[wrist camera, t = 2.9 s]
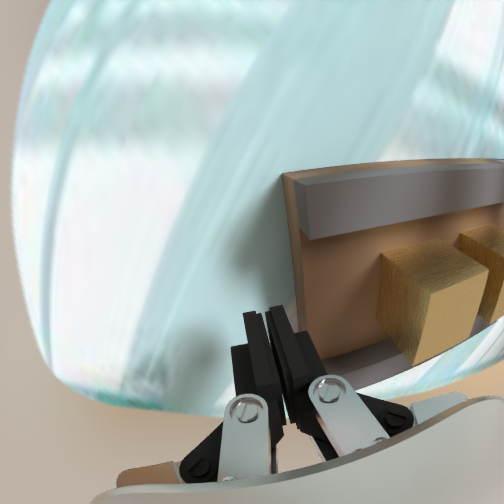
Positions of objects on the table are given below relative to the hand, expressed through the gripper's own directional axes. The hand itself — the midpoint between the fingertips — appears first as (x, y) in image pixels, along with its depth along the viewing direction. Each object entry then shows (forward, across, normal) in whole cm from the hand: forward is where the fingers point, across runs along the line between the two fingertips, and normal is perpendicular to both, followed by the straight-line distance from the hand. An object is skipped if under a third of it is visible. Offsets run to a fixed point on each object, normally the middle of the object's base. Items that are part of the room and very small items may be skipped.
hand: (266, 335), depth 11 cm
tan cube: (+1, -14, 0) cm, 14 cm away
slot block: (+3, -10, 0) cm, 11 cm away
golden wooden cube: (+1, -8, 0) cm, 8 cm away
